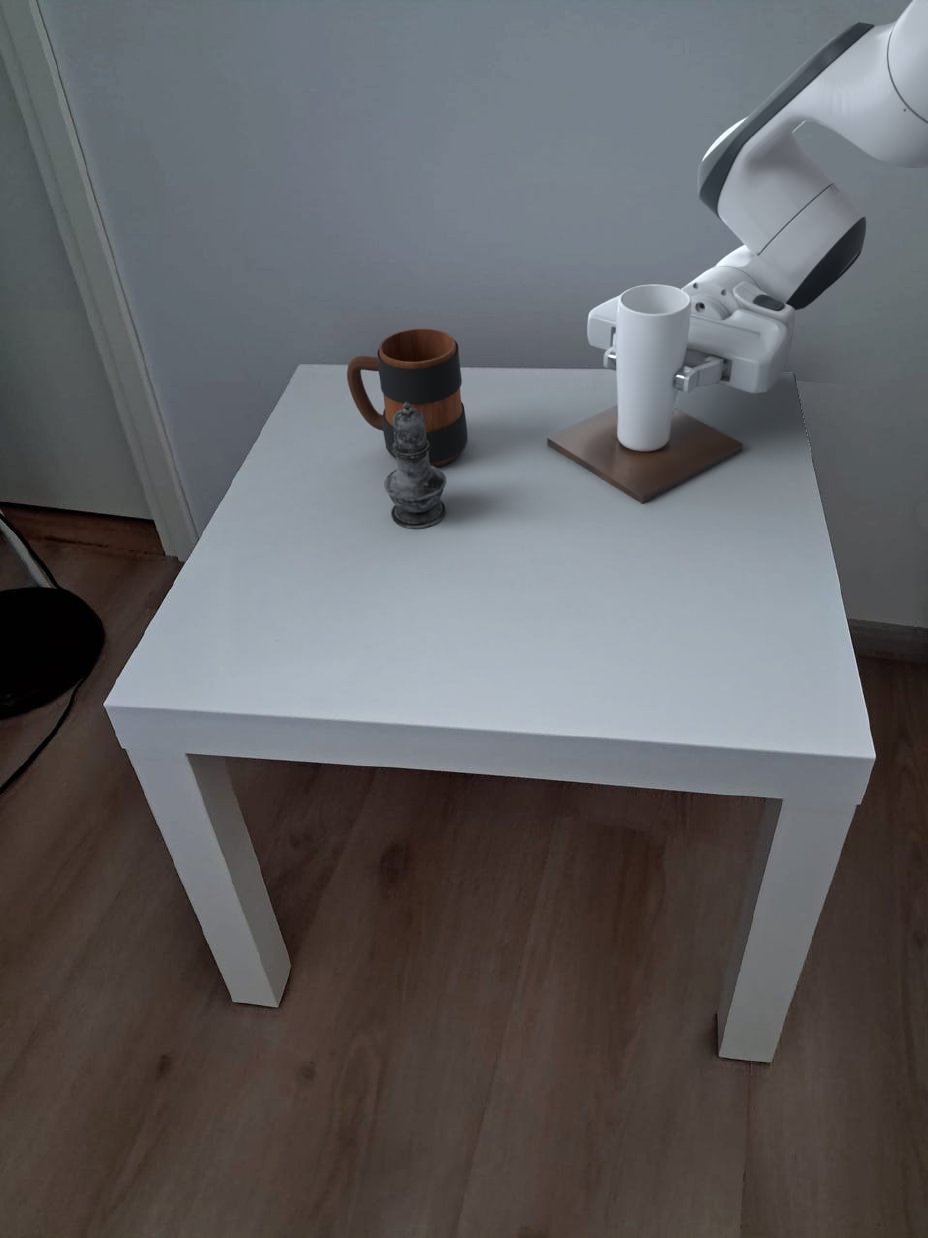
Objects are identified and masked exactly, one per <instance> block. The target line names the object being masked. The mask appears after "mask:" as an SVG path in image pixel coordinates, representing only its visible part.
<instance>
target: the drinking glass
mask: <svg viewBox="0 0 928 1238" xmlns="http://www.w3.org/2000/svg"><path fill="white" fill-rule="evenodd" d="M681 289H682V288H679V287H676V286H672V285H668V284H656V283H655V284H653V283H651V284H642V285H637V286H633V287H631V288H628V289H627V290H624V291H623V292H622V293H621V294H620V295H619V296H620V297H619V300H618V309H617V319H616V371H615V373H616V399H617V404H616V405H618V426H617V436H618V440H619V441H620V443H621V444H622V445H623V446H625V447H627V448H629V449H631V450H635V451H641V452H648V451H654V450H657V449H660V448H662V447H663V446H665V445H666V444H667V442H668V441H669V438H670V434H671V425H672V419H673V413H674V408H676V402H677V398H678V393H679V390H677V389H674V384H675V383H676V381H675V376H676V374H677V372H678V371H681V369H682V368H683V364H684V359H685V354H686V349H687V343H688V337H689V329H690V318H691V302H692V301H691V297H690V296H689V295H688V294H687V293H686V292H685V291H683V290H681Z"/></svg>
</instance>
